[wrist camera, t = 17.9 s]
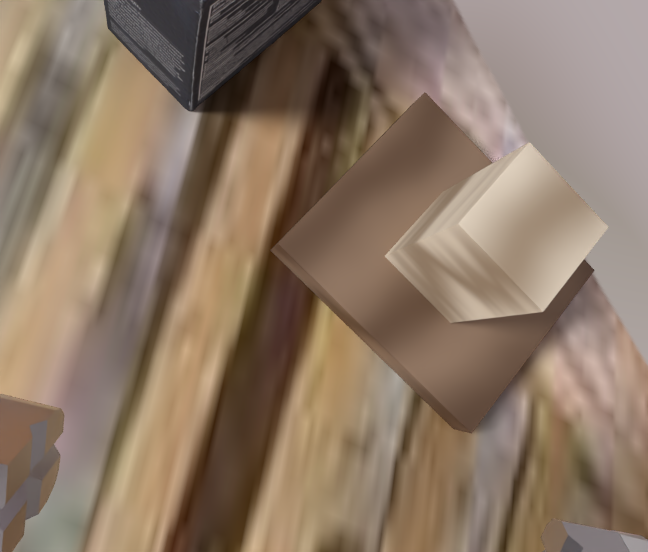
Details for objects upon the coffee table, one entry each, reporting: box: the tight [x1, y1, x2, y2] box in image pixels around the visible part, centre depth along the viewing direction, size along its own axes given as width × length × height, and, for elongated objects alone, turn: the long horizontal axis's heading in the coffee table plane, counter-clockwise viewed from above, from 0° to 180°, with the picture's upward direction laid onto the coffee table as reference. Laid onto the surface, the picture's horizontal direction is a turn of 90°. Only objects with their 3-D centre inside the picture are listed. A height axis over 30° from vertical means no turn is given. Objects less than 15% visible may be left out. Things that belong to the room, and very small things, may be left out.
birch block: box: [385, 142, 608, 323], centre depth 29 cm, size 5×5×8 cm
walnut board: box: [271, 93, 594, 433], centre depth 34 cm, size 14×12×2 cm
